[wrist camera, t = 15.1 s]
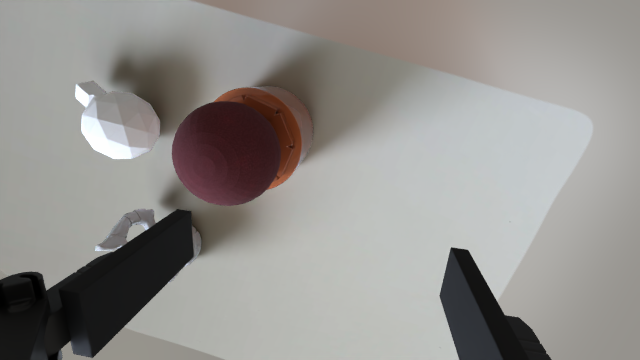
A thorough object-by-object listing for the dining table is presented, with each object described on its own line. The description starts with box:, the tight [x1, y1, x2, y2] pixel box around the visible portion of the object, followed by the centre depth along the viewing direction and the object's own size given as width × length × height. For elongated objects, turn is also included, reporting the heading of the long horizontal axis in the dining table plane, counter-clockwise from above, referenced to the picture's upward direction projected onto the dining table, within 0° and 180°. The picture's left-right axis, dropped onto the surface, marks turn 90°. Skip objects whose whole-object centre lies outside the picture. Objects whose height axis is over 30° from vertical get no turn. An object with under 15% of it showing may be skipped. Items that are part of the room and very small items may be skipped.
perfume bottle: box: [75, 81, 160, 159], centre depth 42 cm, size 9×9×12 cm
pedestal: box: [214, 86, 313, 190], centre depth 39 cm, size 12×12×10 cm
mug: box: [95, 209, 201, 282], centre depth 45 cm, size 8×12×12 cm, turn 34°
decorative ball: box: [172, 101, 281, 206], centre depth 30 cm, size 10×10×10 cm
